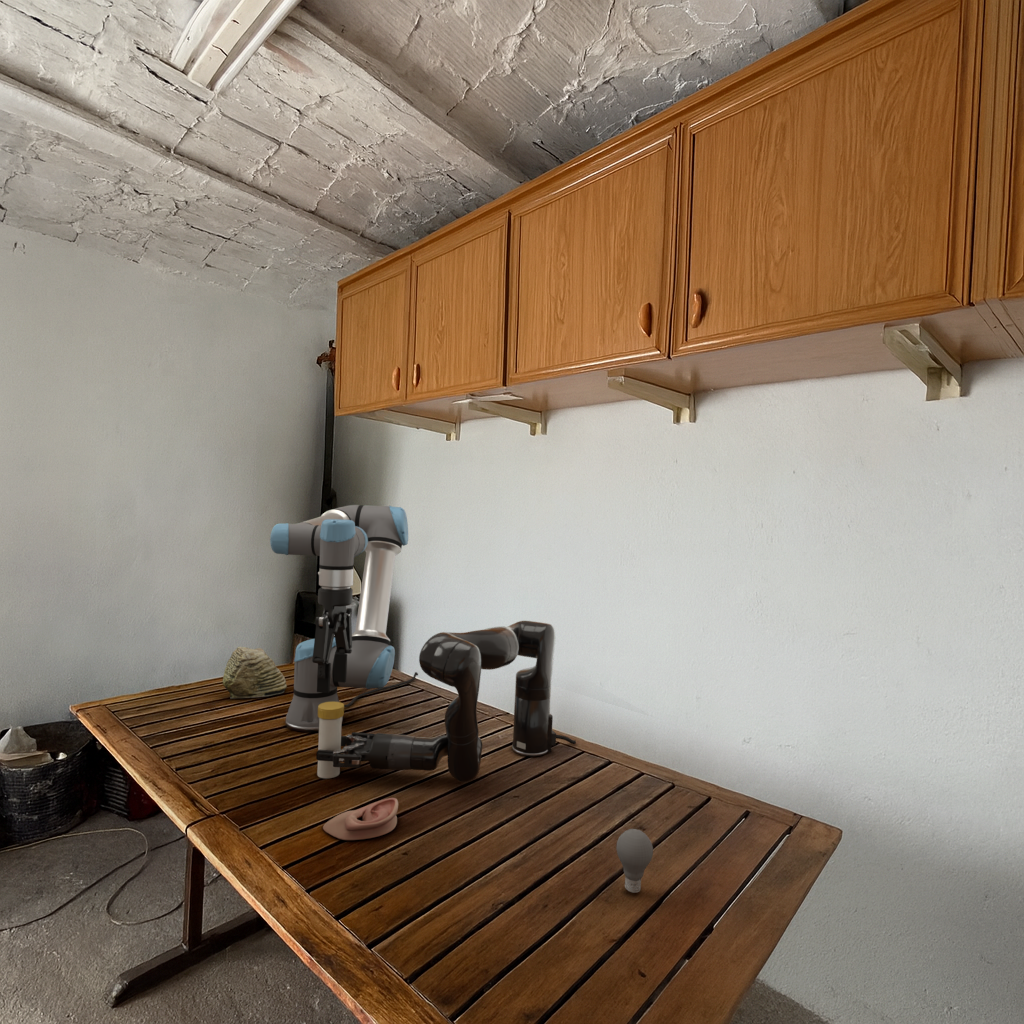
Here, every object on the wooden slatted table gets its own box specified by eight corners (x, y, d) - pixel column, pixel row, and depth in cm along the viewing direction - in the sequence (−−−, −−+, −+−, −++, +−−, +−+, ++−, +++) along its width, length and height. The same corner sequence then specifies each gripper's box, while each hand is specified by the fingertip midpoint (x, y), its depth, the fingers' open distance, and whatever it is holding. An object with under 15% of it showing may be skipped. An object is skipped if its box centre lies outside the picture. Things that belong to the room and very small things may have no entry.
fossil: (218, 695, 195) (220, 647, 195) (278, 685, 208) (279, 640, 207) (228, 703, 189) (230, 653, 188) (289, 692, 201) (290, 645, 201)
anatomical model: (315, 814, 118) (343, 787, 129) (314, 835, 118) (343, 807, 129) (382, 825, 115) (405, 796, 127) (381, 846, 116) (404, 816, 127)
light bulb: (610, 879, 108) (613, 822, 108) (644, 879, 109) (647, 822, 109) (619, 902, 102) (622, 840, 102) (655, 901, 103) (658, 840, 103)
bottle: (312, 775, 144) (315, 708, 144) (328, 767, 148) (330, 702, 148) (328, 780, 142) (331, 712, 141) (344, 772, 146) (346, 706, 146)
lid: (312, 716, 143) (312, 706, 143) (330, 709, 149) (330, 699, 148) (331, 721, 141) (331, 711, 141) (349, 714, 146) (349, 704, 146)
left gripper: (340, 580, 155) (336, 673, 155) (297, 592, 135) (293, 698, 135) (369, 582, 154) (365, 676, 154) (330, 594, 133) (326, 702, 134)
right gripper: (401, 724, 151) (334, 720, 152) (386, 747, 137) (312, 743, 137) (400, 755, 151) (333, 751, 152) (385, 782, 137) (311, 777, 138)
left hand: (331, 686), depth 145 cm, fingers open, 8 cm apart
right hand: (323, 747), depth 145 cm, fingers open, 8 cm apart
